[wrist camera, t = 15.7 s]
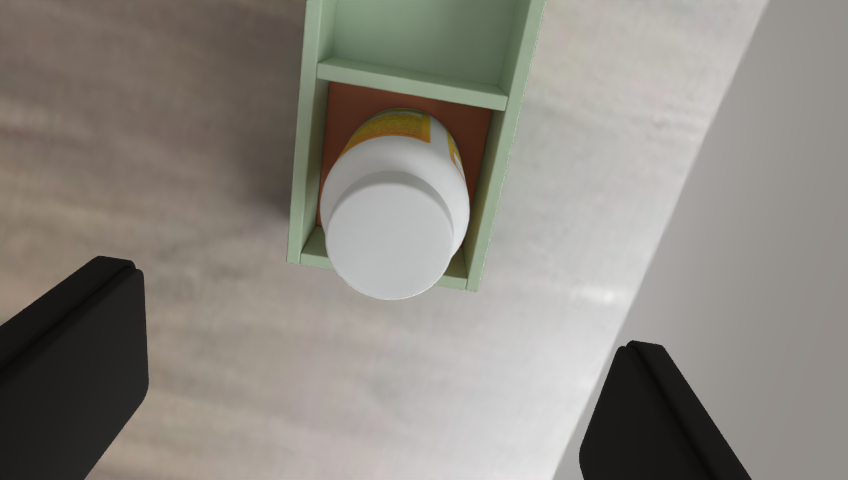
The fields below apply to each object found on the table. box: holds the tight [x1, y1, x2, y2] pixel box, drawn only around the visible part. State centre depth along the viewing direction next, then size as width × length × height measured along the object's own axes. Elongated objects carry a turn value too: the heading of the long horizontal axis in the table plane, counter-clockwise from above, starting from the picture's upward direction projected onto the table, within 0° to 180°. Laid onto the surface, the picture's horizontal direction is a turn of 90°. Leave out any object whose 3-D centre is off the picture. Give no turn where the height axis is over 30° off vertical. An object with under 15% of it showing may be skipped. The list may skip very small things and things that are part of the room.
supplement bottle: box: [320, 108, 470, 300], centre depth 21 cm, size 5×5×10 cm
